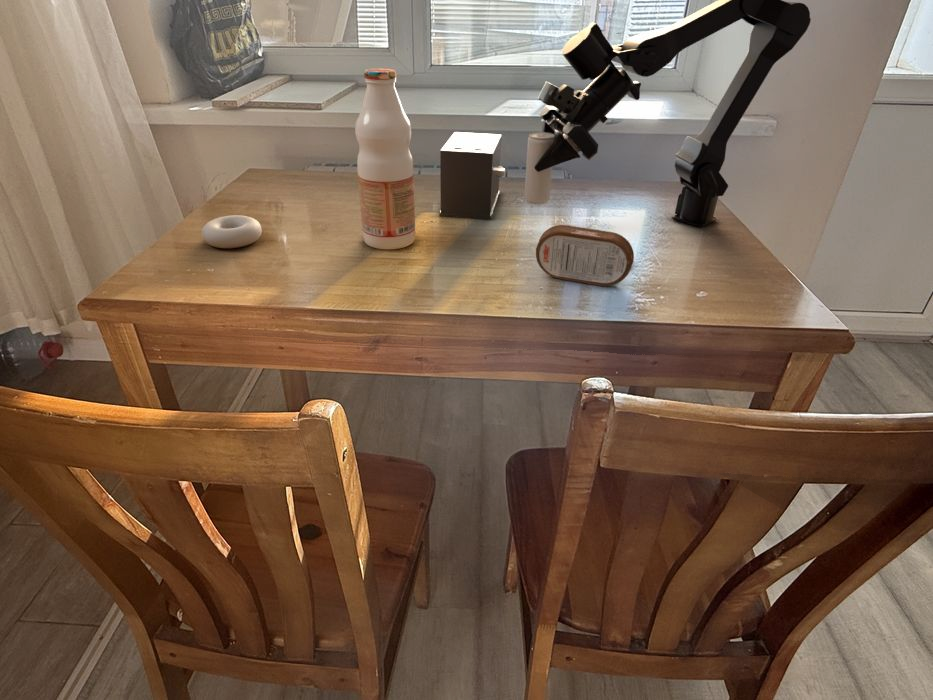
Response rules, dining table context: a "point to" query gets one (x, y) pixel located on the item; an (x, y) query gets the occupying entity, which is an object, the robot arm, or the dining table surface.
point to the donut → (231, 231)
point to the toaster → (470, 175)
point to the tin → (584, 255)
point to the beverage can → (536, 181)
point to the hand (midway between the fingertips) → (532, 166)
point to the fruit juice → (385, 165)
